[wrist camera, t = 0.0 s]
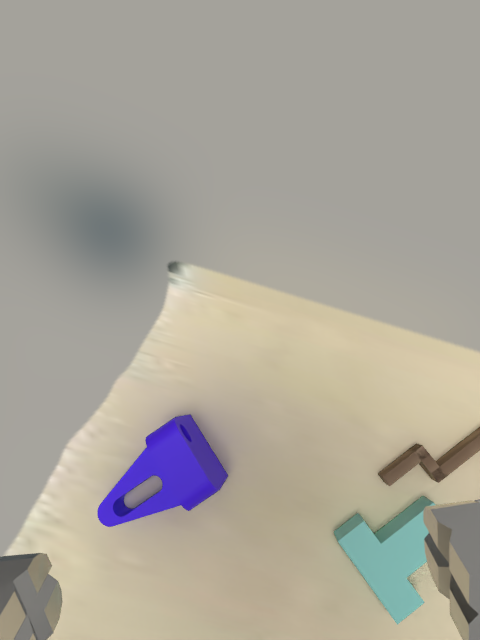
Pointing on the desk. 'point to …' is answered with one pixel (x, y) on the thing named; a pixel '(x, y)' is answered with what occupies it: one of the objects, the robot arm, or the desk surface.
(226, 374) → the desk surface
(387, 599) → the t block
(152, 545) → the desk surface
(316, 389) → the desk surface
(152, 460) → the bracket
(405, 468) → the frame
